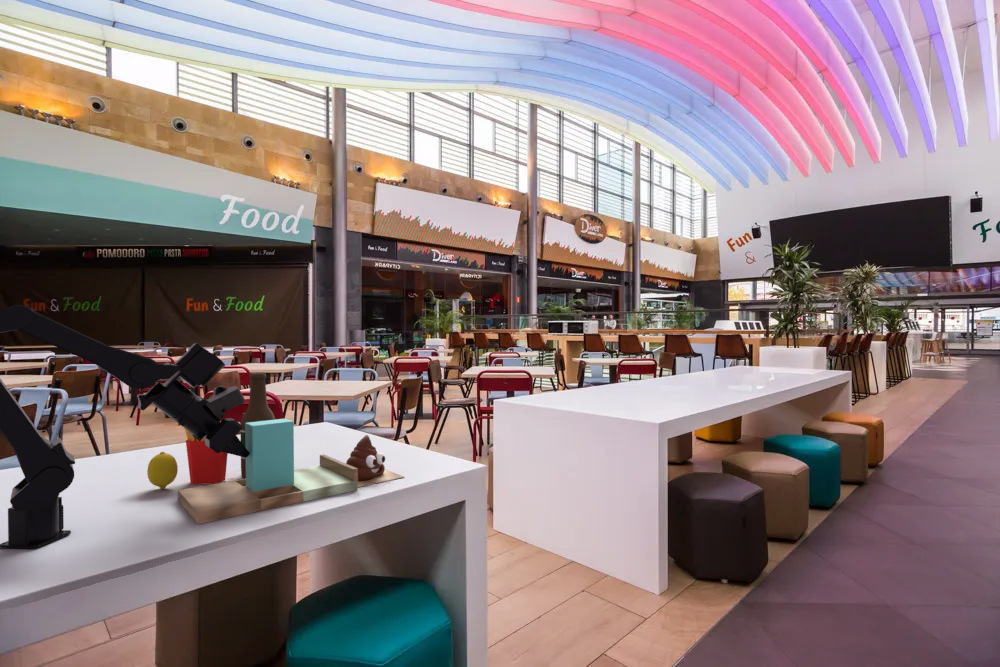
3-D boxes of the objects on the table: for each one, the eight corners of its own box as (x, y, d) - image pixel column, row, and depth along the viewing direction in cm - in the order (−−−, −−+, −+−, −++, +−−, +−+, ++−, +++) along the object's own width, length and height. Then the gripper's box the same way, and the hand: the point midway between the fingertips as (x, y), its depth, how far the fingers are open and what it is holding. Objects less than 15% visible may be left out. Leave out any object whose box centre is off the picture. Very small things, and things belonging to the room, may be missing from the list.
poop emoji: (365, 469, 130) (364, 430, 130) (393, 473, 126) (393, 433, 126) (335, 479, 121) (334, 438, 121) (364, 484, 117) (364, 441, 117)
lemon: (163, 493, 112) (162, 455, 112) (141, 492, 114) (140, 454, 114) (183, 485, 118) (183, 449, 118) (162, 484, 119) (161, 448, 119)
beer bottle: (264, 479, 122) (263, 374, 122) (233, 478, 123) (232, 374, 123) (283, 470, 130) (282, 371, 130) (254, 470, 131) (252, 371, 131)
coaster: (351, 488, 114) (351, 487, 114) (326, 476, 124) (326, 475, 124) (404, 477, 123) (404, 476, 123) (377, 466, 132) (377, 466, 132)
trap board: (197, 523, 94) (197, 498, 94) (178, 500, 108) (178, 477, 108) (357, 489, 113) (357, 468, 113) (324, 473, 127) (323, 454, 127)
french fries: (231, 478, 123) (231, 422, 123) (222, 483, 119) (221, 425, 119) (192, 479, 123) (191, 422, 123) (180, 484, 119) (180, 425, 119)
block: (253, 491, 106) (252, 425, 106) (245, 486, 110) (245, 422, 110) (294, 483, 111) (293, 421, 111) (285, 479, 115) (285, 418, 115)
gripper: (229, 376, 97) (292, 429, 104) (205, 371, 111) (262, 418, 118) (180, 425, 92) (249, 477, 99) (162, 413, 106) (224, 460, 113)
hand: (247, 455), depth 108 cm, fingers closed, pressing on block
